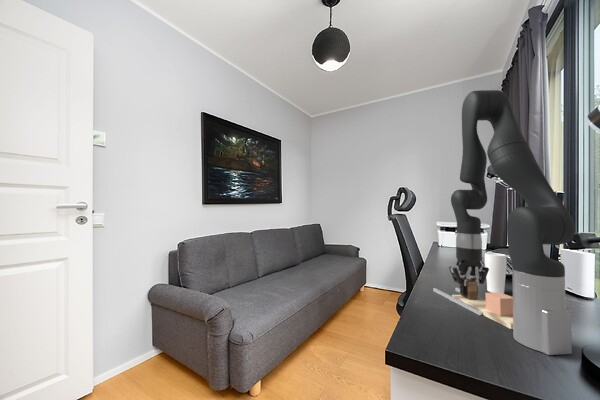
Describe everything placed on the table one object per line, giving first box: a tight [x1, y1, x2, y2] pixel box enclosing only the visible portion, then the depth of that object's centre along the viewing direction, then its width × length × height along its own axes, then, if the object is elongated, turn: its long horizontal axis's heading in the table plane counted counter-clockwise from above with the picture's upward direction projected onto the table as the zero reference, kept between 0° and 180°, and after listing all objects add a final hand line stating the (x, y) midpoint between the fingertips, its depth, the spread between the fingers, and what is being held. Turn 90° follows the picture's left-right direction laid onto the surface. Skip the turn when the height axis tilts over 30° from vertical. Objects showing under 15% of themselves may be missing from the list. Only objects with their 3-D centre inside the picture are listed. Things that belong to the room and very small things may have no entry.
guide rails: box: [432, 287, 486, 316], centre depth 87 cm, size 22×10×1 cm, turn 6°
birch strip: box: [451, 278, 513, 330], centre depth 78 cm, size 22×8×8 cm, turn 6°
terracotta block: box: [485, 292, 513, 316], centre depth 74 cm, size 5×5×5 cm
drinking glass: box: [484, 252, 507, 294], centre depth 97 cm, size 7×7×15 cm
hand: (469, 295), depth 86 cm, fingers closed on birch strip, 3 cm apart
